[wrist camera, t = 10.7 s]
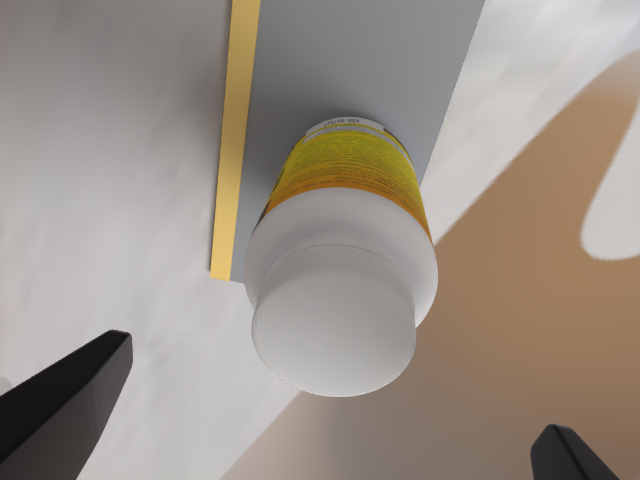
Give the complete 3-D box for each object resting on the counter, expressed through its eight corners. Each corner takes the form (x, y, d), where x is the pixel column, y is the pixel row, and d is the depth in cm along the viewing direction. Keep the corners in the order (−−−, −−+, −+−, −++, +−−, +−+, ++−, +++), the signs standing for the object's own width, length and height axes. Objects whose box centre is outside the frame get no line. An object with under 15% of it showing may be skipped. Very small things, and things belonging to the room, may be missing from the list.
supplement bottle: (279, 115, 18) (194, 240, 9) (416, 109, 17) (466, 238, 9) (291, 233, 21) (236, 416, 12) (410, 232, 20) (444, 424, 11)
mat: (212, 272, 23) (209, 277, 23) (241, -72, 15) (238, -74, 15) (376, 308, 23) (376, 313, 23) (487, -14, 15) (490, -14, 15)
